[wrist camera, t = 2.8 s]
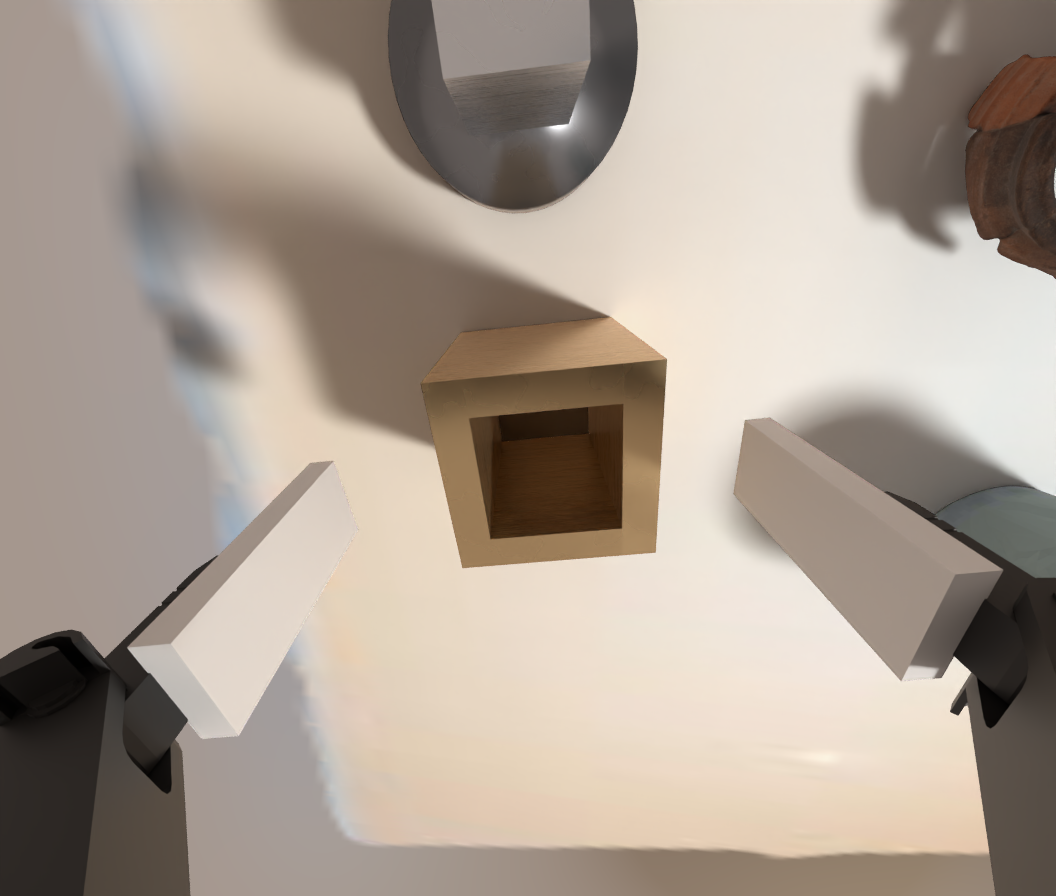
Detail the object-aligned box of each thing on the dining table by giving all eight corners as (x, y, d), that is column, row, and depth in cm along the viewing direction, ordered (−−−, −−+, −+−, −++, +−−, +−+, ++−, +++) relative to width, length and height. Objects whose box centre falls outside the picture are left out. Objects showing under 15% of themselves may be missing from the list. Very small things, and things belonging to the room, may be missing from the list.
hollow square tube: (611, 316, 18) (666, 359, 11) (611, 451, 21) (655, 552, 14) (460, 332, 18) (420, 383, 11) (483, 462, 22) (462, 567, 14)
